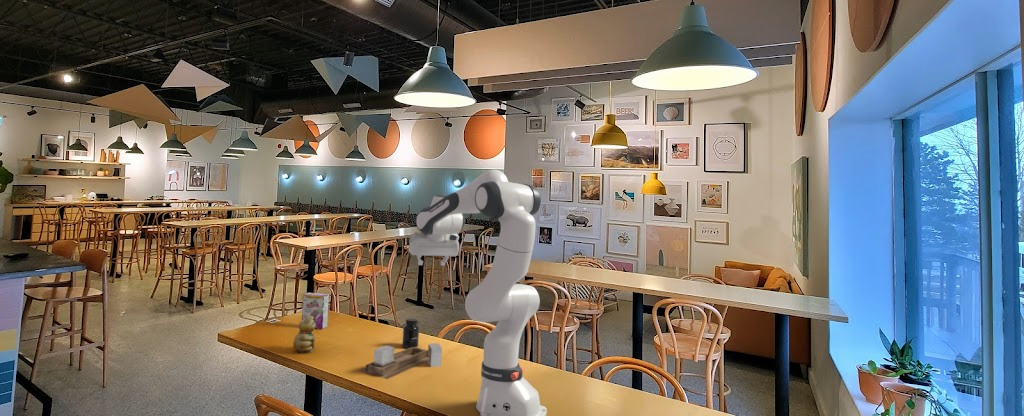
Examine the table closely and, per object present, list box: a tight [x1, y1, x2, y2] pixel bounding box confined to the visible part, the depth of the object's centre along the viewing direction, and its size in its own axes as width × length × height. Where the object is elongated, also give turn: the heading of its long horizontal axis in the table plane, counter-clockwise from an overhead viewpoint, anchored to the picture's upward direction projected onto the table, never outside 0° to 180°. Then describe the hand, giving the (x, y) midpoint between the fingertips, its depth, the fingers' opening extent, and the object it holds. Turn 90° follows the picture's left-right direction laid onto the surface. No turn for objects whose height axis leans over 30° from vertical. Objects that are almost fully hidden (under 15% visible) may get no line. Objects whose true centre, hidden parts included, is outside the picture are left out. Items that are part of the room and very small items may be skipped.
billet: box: [427, 342, 443, 368], centre depth 177 cm, size 4×6×8 cm, turn 22°
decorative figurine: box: [292, 314, 316, 353], centre depth 189 cm, size 10×8×15 cm
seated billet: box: [373, 345, 395, 368], centre depth 168 cm, size 4×6×8 cm, turn 152°
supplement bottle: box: [402, 317, 420, 349], centre depth 201 cm, size 7×7×12 cm
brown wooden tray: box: [358, 347, 428, 380], centre depth 175 cm, size 14×27×4 cm, turn 152°
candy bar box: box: [301, 292, 330, 330], centre depth 223 cm, size 11×5×16 cm, turn 82°
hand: (431, 264), depth 187 cm, fingers open, 8 cm apart
